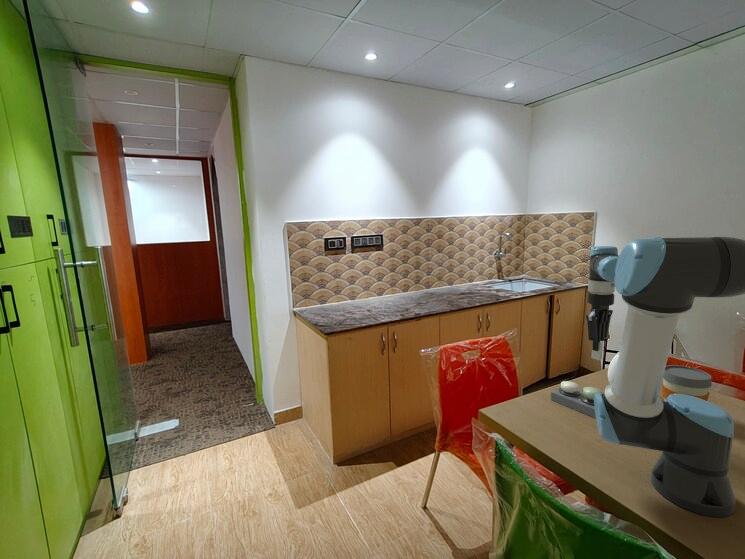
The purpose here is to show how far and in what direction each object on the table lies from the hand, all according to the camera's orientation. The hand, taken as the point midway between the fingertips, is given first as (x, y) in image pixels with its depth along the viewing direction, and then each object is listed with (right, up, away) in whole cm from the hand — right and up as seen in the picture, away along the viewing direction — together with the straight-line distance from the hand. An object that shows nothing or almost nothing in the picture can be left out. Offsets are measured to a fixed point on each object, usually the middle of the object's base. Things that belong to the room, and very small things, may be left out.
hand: (596, 358), depth 121 cm
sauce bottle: (+19, -16, +16) cm, 30 cm away
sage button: (0, -14, +2) cm, 14 cm away
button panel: (0, -19, +3) cm, 19 cm away
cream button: (-4, -14, +9) cm, 17 cm away
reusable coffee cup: (+28, -18, -2) cm, 34 cm away
